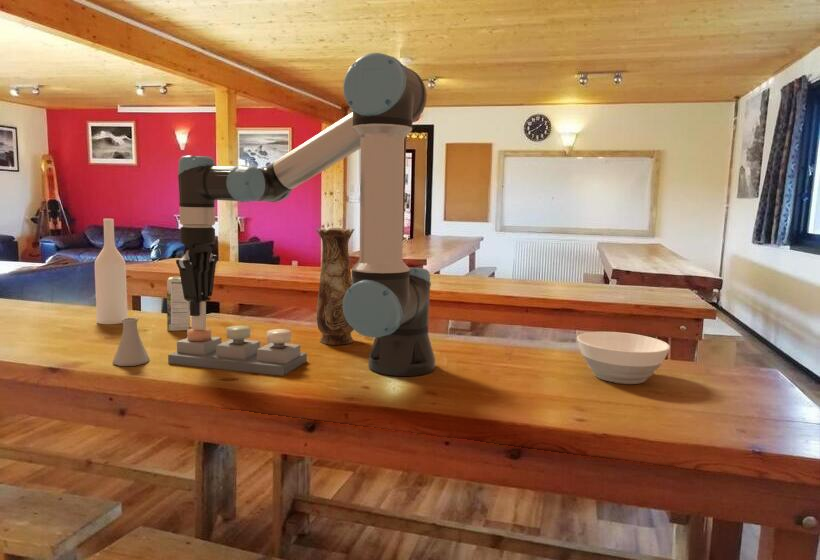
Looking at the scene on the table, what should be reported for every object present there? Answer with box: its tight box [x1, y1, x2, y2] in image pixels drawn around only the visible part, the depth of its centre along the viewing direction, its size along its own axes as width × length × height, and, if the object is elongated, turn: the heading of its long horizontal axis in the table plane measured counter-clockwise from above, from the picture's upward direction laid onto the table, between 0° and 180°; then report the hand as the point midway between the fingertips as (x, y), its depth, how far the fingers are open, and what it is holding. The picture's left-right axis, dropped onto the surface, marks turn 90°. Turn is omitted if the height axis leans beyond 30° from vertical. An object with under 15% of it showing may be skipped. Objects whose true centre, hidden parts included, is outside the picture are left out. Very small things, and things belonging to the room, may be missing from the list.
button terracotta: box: [186, 327, 212, 342], centre depth 136 cm, size 5×5×4 cm
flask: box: [112, 317, 151, 367], centre depth 131 cm, size 7×7×10 cm
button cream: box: [266, 328, 292, 350], centre depth 131 cm, size 5×5×4 cm
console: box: [167, 336, 308, 377], centre depth 134 cm, size 28×12×4 cm, turn 76°
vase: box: [315, 227, 355, 346], centre depth 155 cm, size 10×11×30 cm
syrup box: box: [166, 276, 191, 332], centre depth 165 cm, size 6×6×14 cm
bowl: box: [576, 331, 671, 385], centre depth 131 cm, size 20×20×8 cm
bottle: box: [94, 218, 129, 325], centre depth 171 cm, size 8×8×30 cm
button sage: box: [225, 325, 251, 346], centre depth 134 cm, size 5×5×4 cm
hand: (199, 328), depth 136 cm, fingers closed
